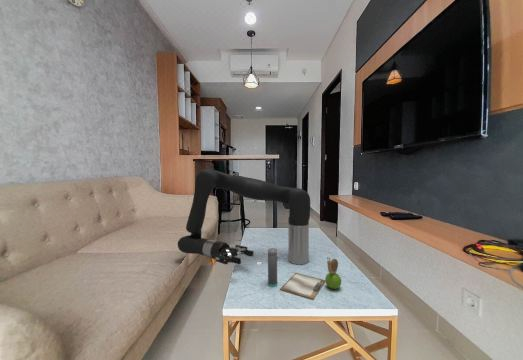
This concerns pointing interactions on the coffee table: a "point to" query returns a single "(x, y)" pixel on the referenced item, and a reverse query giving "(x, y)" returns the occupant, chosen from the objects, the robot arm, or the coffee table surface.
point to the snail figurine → (333, 274)
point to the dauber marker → (272, 267)
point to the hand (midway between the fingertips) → (247, 257)
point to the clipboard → (303, 286)
